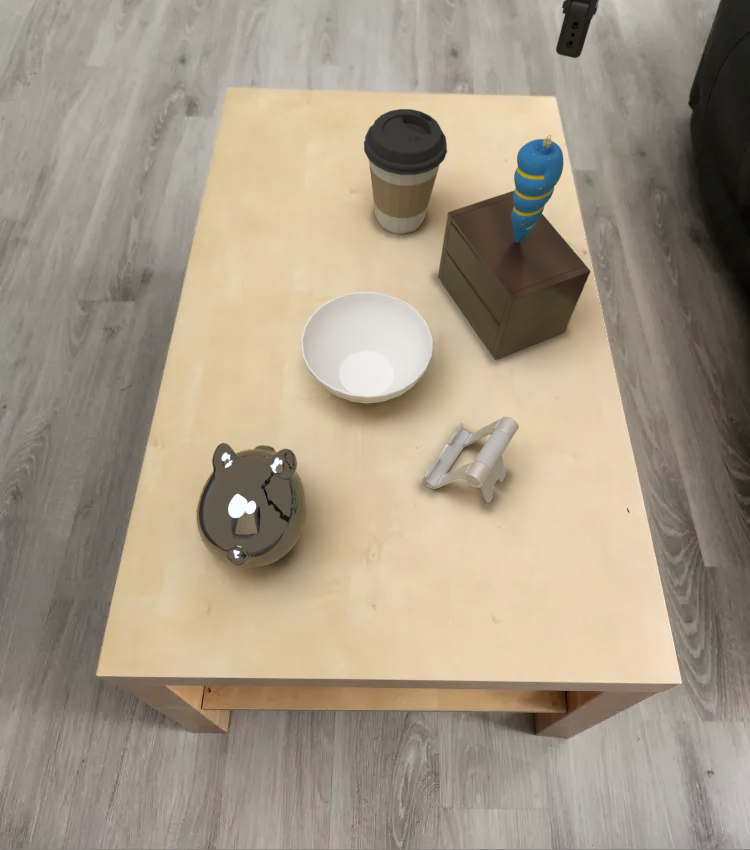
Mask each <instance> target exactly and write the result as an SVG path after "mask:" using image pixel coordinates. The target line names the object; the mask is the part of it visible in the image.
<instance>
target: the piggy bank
mask: <svg viewBox="0 0 750 850" xmlns="http://www.w3.org/2000/svg"><path fill="white" fill-rule="evenodd" d="M211 464H212V469H213V470H212V472H210V474H209V476H208V477H207V479H206V481H205V483H204V485H203V487H202V490H201V492H200V495H199V499H198V502H197V507H196V526H197V531H198V534H199V537H200V539H201V541H202V543H203V544H204V546H205V548H207V550H208V551H209V552H210V553H211V554H212V555H213V556H214V557H216V558H217V559H218V560H219V561H221V562H222V563H225V564H227V565H229V566H231V567H235V568H239V569H245V570H248V569H249V570H251V569H253V570H254V569H260V568H263V567H267V566H269V565H272V564H274V563H276V562H278V561H279V560H281V559H282V558H283V557H285V556H286V555H287V554H288V553H289V552H290V551H291V550H292V549H293V548H294V547H295V545H296V543H297V542H298V540H299V538H300V536H301V534H302V532H303V528H304V525H305V520H306V512H307V510H306V509H307V502H306V494H305V493H306V492H305V489H304V485H303V481H302V480H301V477H300V475H299V474H298V472H297V468H298V460H297V456H296V454H295V452H294V451H293V450H292V449H289V448H282V449H280V450H278V451H276V449H275V448H274V447H273V446H270V445H265V444H260V445H258V446H256V447H254V448H253V449H245V450H241V451H238V452H235V450H234V449H233V448H232V447H231V445H229V444H228V443H225V442H221V443H219V444H218V445H217V446H216V447H215V449H214V452H213V455H212V458H211Z"/></svg>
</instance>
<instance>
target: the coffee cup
mask: <svg viewBox="0 0 750 850" xmlns="http://www.w3.org/2000/svg"><path fill="white" fill-rule="evenodd" d="M447 146H448V144H447V137H446V134H445V133H444V131H443V130H442V128H441V126H440V125H439V123H438V121H437V120H436V119H435V118H434V117H432V116H431V115H430V114H427V113H425V112H423V111H420V110H416V109H412V108H399V109H393V110H389V111H387V112H385V113H383V114H381V115H379V117H377V118H376V119H375V120H374V122H373V124H372V125H371V126H370V127H368V130H367V132H366V134H365V136H364V141H363V152H364V154H365V156H366V157H367V159H368V164H369V173H370V180H371V188H372V198H373V205H374V214H375V217H376V220H377V223H378V224H379V226H380V227H382V229H383V230H386V231H387V232H389V233H392V234H397V235H405V234H410V233H413V232H415V231H417V230H418V229H419V228H420V227H421V226H422V223H423V222H424V220H425V218H426V214H427V211H428V208H429V205H430V201H431V197H432V194H433V189H434V186H435V183H436V179H437V176H438V173H439V169H440V166H441V164H442V163H443V162H444V161H445V158H446V156H447V153H448V147H447Z"/></svg>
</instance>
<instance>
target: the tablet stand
mask: <svg viewBox="0 0 750 850" xmlns="http://www.w3.org/2000/svg"><path fill="white" fill-rule="evenodd" d="M464 425H465V424H463V423H460V424H459V425H458V427H457V428H456V430H455V431H454V432H453V434H452V436H451V437H450V439H449V440H448V442H447V443H446V444H445V446H444V447H443V449H442V451H440V453H439V454H438V456H437V457H436V459H435V460H434V461H433V463H432V465H431V466H429V467H430V468H428V470H427V471H426V473H425V474H424V476H423V478H422V482H423V484H424V485H425V486H426V487H427V488H429V489H432V490H437V489H439V488H441V487H444V486H446V485H449V484H450V483H451V484H452V483H454V482H456V481H459V480H464V481H465V482H466V483H468V484H469V485H470V486H473V487H474V488H480V490H481V492H482V496H483V498H484V503H486V504H490V503H491V501H492V499H493V497H494V492H493V491H494V490H493V488H494V486H495V485H496V483H497V481H499V483H500V484H502V483H503V482H504V480H505V479H506V477H507V471H506V466H505V464H504V460H503V456H502V455H503V454H504V452H505V451H506V449H507V447H509V444H510V443H511V441H512V440H513V438H514V436H515V435H516V433H517V432H518V430H519V428H520V425H519V423H518V422H517V421H516V420H515V419H514V418H512V417H508V416H503V417H502V418H499V419H497V420H496V421H494V422H491V423H490V424H488V425H486V426H483V427H482V428H480V429H478V430H476V431H474V432H469V431H468V430H466V429H465V428H464ZM488 436H489V437H488ZM486 437H488V439H487V440H486V441H485V443H484V445H483V446H482V447H481V449H480V451H479V453H478V454H477V456H476V457H475V458H474V460H473V461H472V462H468V463H467V464H464V465H462V466H460V467H458V468H456V469H454V470H451V471H449V470H450V469H451V467H452V466H453V464H454V463H455V461H456V459H457V458H458V457H459V455H460V453H461V452H462V451H463V449H464V448H465V447H467V446H470V445H471V444H474V443H475V442H478V441H480V440H482V439H483V438H486Z"/></svg>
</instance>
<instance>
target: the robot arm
mask: <svg viewBox="0 0 750 850" xmlns="http://www.w3.org/2000/svg"><path fill="white" fill-rule="evenodd" d="M599 2H600V0H563V2H562V6H561V9H562V13H561V14H562V15H563V14H564V17H563V21H562V24H561V28H560V32H559V36H558V40H557V44H556V47H555V52H556V53H557V54H558V55H560V56H563V57H569V58H572V59H577V58H580V56H581V55H582V52H583V49H584V46H585V42H586V39H587V36H588V32H589V29H590V25H591V21H592V20H593V17H594V16H596V14H597V12H598V9H599Z"/></svg>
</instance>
